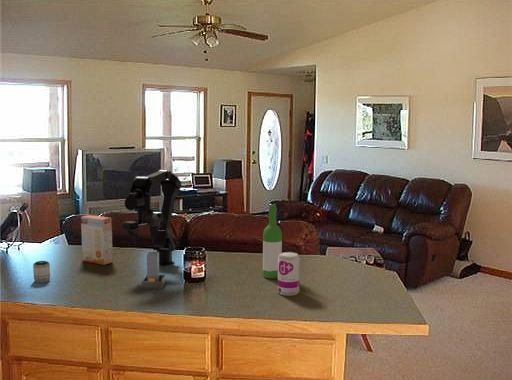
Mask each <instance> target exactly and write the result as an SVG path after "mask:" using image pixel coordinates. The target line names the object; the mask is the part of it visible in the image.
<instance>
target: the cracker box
mask: <svg viewBox="0 0 512 380" xmlns="http://www.w3.org/2000/svg"><path fill="white" fill-rule="evenodd" d="M80 219H81V221H80V227H81V254H82V256H81V258H82V262H86V263H92V264H97V265H102V266H106V265H108V264H112V263H113V261H114V260H113V227H112V226H113V225H112V222H113V221H112V220H113V219H112V217H107V216H102V215H101V216H100V215H94V214H93V215H92V214H87V215H82V216H80Z"/></svg>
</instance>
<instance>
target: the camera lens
mask: <svg viewBox="0 0 512 380" xmlns="http://www.w3.org/2000/svg"><path fill="white" fill-rule="evenodd" d="M32 266H33V267H32V268H33V269H32V270H33V280H34V282H35V283H36V282H37V283H36V284H42V283H43V282H44V283H47V282H49V281H50V280H51V279H50V278H51V268H50V267H51V264H50V262H49V261H46V260H38V261H35V262H34V263H33V265H32Z"/></svg>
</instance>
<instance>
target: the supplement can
mask: <svg viewBox="0 0 512 380" xmlns="http://www.w3.org/2000/svg"><path fill="white" fill-rule="evenodd" d="M300 262H301V259H300V256H299V254H298V253H297V252H293V251H285V252H282V253H280V255H279V257H278V278H277V292H278V293H279V294H280V295H282V296H284V297H285V296H286V297H287V296H288V297H292V296H296V295H298V293H300V273H301V272H300V268H301V266H300Z"/></svg>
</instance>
